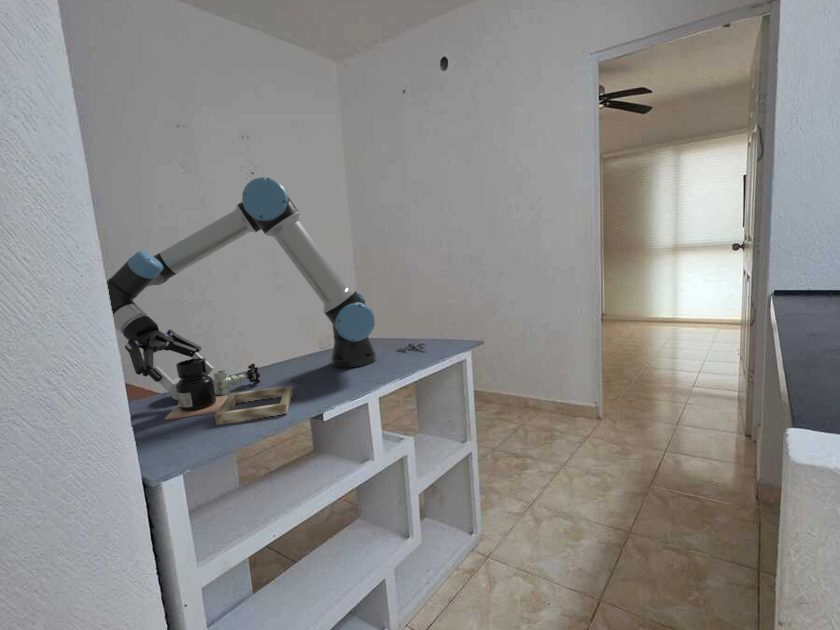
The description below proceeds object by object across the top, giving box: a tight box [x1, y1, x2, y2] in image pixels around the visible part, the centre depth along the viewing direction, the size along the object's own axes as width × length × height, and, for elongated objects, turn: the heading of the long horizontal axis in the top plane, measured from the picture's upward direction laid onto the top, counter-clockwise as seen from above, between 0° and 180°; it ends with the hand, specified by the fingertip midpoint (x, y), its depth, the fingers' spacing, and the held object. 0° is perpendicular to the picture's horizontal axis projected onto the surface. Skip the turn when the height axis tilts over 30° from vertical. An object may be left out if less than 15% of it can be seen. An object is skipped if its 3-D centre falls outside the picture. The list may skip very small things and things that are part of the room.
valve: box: [213, 363, 261, 396], centre depth 128 cm, size 7×7×12 cm
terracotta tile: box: [164, 394, 229, 421], centre depth 115 cm, size 12×12×1 cm
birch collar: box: [214, 384, 294, 426], centre depth 110 cm, size 16×16×2 cm
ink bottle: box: [175, 357, 217, 411], centre depth 114 cm, size 10×9×12 cm
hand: (192, 379), depth 114 cm, fingers open, 13 cm apart
